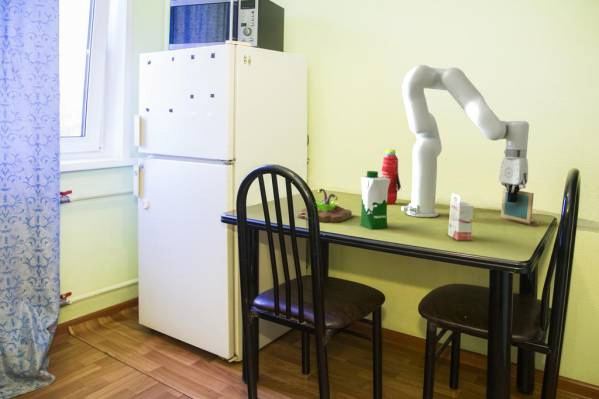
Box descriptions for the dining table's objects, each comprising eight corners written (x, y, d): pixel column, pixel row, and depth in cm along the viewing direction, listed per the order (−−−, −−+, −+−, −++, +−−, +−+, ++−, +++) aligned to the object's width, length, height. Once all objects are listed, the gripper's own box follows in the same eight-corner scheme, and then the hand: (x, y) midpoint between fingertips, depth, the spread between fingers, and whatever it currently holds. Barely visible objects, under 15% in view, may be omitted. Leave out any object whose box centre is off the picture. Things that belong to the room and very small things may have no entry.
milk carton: (376, 223, 190) (378, 170, 187) (391, 227, 182) (393, 173, 179) (356, 225, 186) (358, 171, 183) (371, 230, 178) (373, 174, 175)
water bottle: (406, 205, 229) (409, 150, 225) (394, 206, 224) (396, 150, 220) (387, 201, 239) (389, 148, 234) (375, 202, 234) (377, 149, 230)
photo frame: (532, 193, 186) (542, 192, 188) (503, 188, 199) (512, 187, 201) (529, 223, 188) (539, 222, 190) (500, 216, 201) (510, 215, 203)
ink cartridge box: (471, 240, 165) (475, 196, 162) (457, 241, 164) (460, 196, 162) (461, 234, 173) (464, 192, 171) (447, 234, 173) (450, 192, 170)
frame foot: (532, 226, 188) (533, 221, 188) (502, 218, 202) (502, 214, 201) (537, 225, 189) (537, 221, 189) (506, 218, 203) (506, 213, 202)
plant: (315, 210, 214) (316, 184, 212) (357, 215, 204) (358, 188, 202) (291, 218, 197) (291, 189, 195) (335, 224, 187) (336, 194, 185)
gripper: (493, 152, 194) (489, 199, 197) (524, 155, 181) (520, 206, 184) (507, 152, 197) (504, 198, 200) (539, 155, 184) (535, 204, 187)
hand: (511, 202), depth 192 cm, fingers closed
